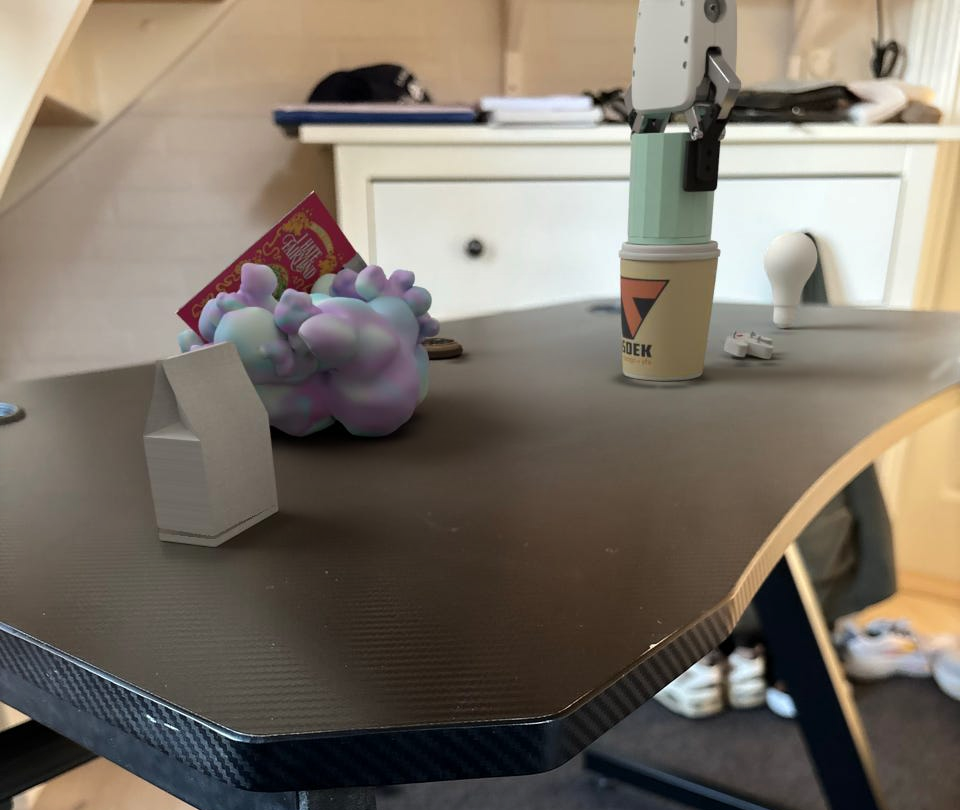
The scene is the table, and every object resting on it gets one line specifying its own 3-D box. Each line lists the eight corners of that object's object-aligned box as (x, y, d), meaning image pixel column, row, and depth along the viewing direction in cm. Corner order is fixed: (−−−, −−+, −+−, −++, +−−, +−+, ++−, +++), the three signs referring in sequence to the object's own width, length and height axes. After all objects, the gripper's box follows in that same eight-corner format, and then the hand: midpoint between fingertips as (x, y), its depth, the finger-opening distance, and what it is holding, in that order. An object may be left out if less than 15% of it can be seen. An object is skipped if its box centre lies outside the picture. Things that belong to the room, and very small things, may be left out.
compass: (458, 360, 108) (456, 288, 104) (386, 359, 109) (382, 288, 106) (470, 347, 115) (469, 280, 112) (402, 347, 116) (399, 280, 113)
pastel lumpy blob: (310, 410, 65) (384, 148, 65) (75, 371, 74) (141, 141, 74) (446, 494, 83) (504, 289, 84) (244, 454, 92) (297, 270, 93)
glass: (711, 238, 96) (718, 133, 92) (710, 244, 89) (718, 131, 85) (631, 239, 98) (635, 135, 94) (624, 245, 91) (628, 133, 87)
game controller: (766, 362, 103) (768, 335, 102) (659, 356, 108) (660, 330, 107) (780, 353, 107) (782, 327, 106) (676, 347, 113) (677, 323, 111)
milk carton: (278, 510, 61) (260, 341, 57) (215, 547, 56) (189, 362, 51) (226, 505, 63) (204, 339, 58) (159, 540, 57) (130, 359, 53)
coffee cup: (598, 369, 101) (601, 241, 96) (679, 362, 104) (687, 237, 99) (643, 386, 93) (650, 247, 88) (730, 377, 96) (741, 242, 91)
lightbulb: (815, 326, 124) (826, 230, 119) (800, 333, 119) (812, 233, 115) (766, 323, 127) (775, 229, 122) (750, 330, 122) (759, 232, 118)
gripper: (789, -56, 78) (766, 191, 86) (667, -20, 93) (656, 188, 100) (707, -62, 76) (691, 193, 83) (596, -24, 90) (590, 190, 98)
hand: (672, 189), depth 92 cm, fingers open, 8 cm apart
